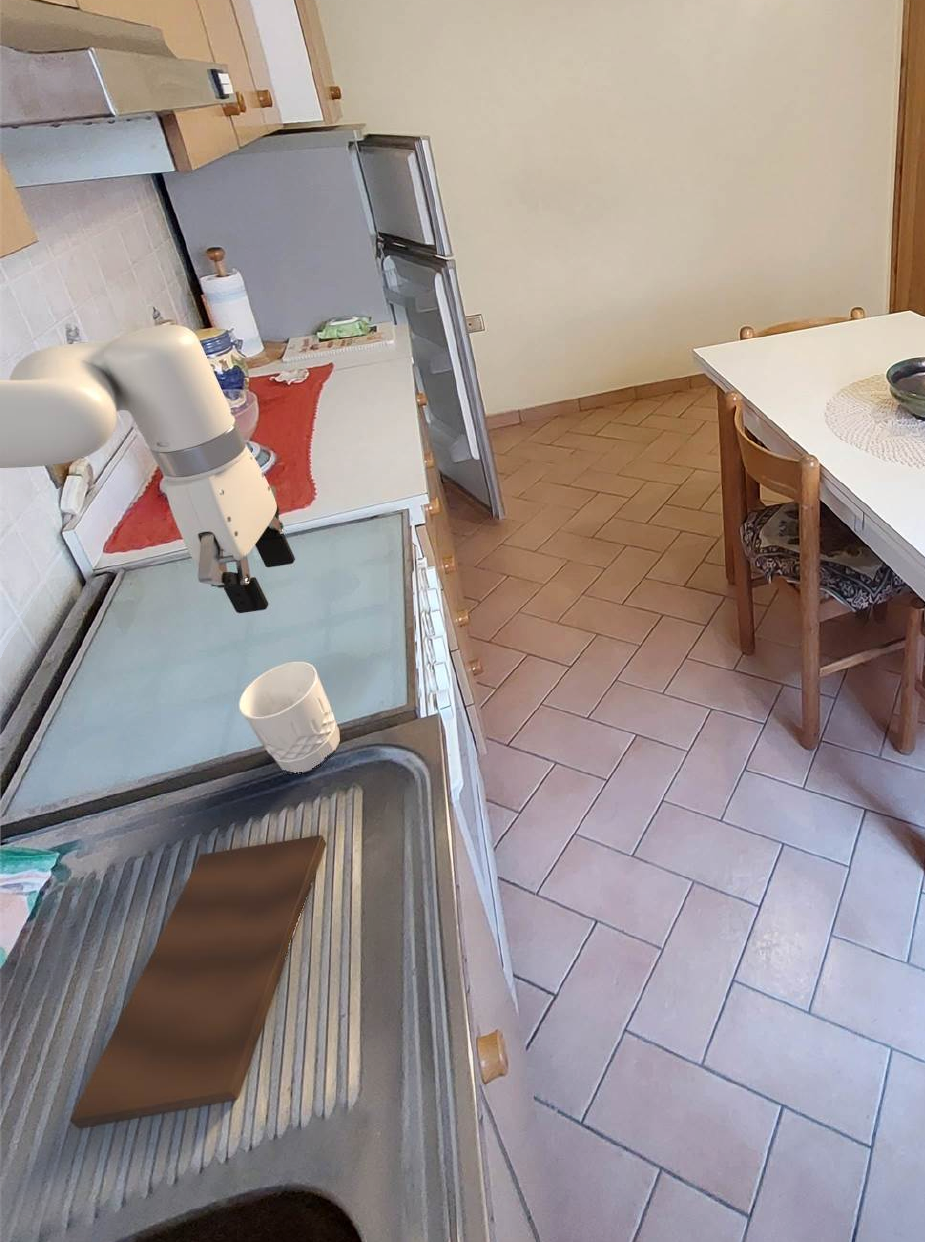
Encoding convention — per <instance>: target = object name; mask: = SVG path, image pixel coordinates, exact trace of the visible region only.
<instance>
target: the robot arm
mask: <svg viewBox="0 0 925 1242" xmlns="http://www.w3.org/2000/svg"><path fill="white" fill-rule="evenodd" d="M221 387H222V386H221V385H220V383H219V381H218V379H217V375H216V374H215V372H214V370H213V367H212V365H211V363H210V361H209V359H208V356H207V354H206V352H205V349H204V347H203V346H202V343H201V342H200V340H199V338H198V336H197V334H195V333H194V331H193V330H191V329H190V328H188V327H186V326H182V325H181V324H180V325H179V324H162V325H154V326H150V327H146V328H145V327H144V328H141V329H138V330H134V331H132V332H129V333H125V334H124V335H122V336H121V335H120V337H115V338H109V339H103V340H95V341H86V342H77V343H76V342H75V343H67V344H61V345H54V346H53V345H52V346H49V347H45V348H41V349H39V350H36V351H34V352H31V353H29V354H27V355H26V356H25V357H23V358H22V359H21V360H20V361H19V362H18V363H16V365H15V366H14V368H13V369H12V371H11V374H10V376H9V379H0V469H13V468H17V469H18V468H34V467H46V466H55V465H62V464H66V463H71V462H76V461H79V460H81V459H84V458H86V457H89V456H91V455H92V454H94V453H96V452H97V451H99V450H100V449H102V448H103V447H104V446H105V445H106V444H107V443H108V441H109V440H110V439H111V437H112V436H113V435H114V432H115V429H116V425H117V420H118V419H117V418H118V412H120V411H127V412H128V413H130V415H131V417H132V418H133V421H134V422H135V425H136V426H137V428H138V430H139V432H140V433H141V435H142V436H141V437H142V438H143V439H144V441H145V443H146V445H147V447H148V448H149V451H150V453H151V455H152V457H153V459H154V460H155V462H156V465H157V466H158V468H159V470H160V471H161V474H162V475H163V478H164V479H166V481H165V482H164V483H163V484H164V490H165V496H166V499H167V502H168V505H169V509H170V511H171V514H172V517H173V519H174V522H175V524H176V527H177V530H178V531H179V534H180V536H181V538H182V541H183V543H184V545H185V547H186V549H187V551H188V553H189V555H190V557H191V559H192V561H193V562H194V563H195V565H196V566H198V571H197V580H198V582H199V583H201V584H205V585H210V586H211V587H215V588H216V587H217V588H218V589H223V590H224V592H225V594H226V596H227V597H228V599H229V601H230V604H231V605H232V607H233V609H234V611H235V612H236V613H237V614H245V613H251V612H258V611H264V610H267V609H268V607H269V601H268V599H267V597H266V595H265V593H264V591H263V589H262V587H261V586H260V583H259V581H258V579H257V577H256V576H254V577H253V576H252V577H251V573H250V567H249V561H248V560H249V559H248V554H250V553H251V551H252V549H253V548H254V547H255V548H256V550H257V552H258V554H259V556H260V558H261V560H262V562H263V564H264V566H265V568H273V567H274V568H275V567H281V566H289V565H292V564H294V562H295V561H296V558H295V555H294V553H293V551H292V548H291V547H290V544H289V542H288V539H287V537H286V535H285V534H284V532H283V531H284V524H283V522H282V521H281V520H280V507H279V505H278V495H277V487H276V486H274V485H270V484H269V481H268V480H267V478H266V476H265V474H264V472H263V470H262V468H261V466H260V465H259V463H258V461H257V460H256V458H255V457H254V455H253V453H252V452H251V450H250V449H249V447H248V445H247V443H246V441H245V438H244V436H243V434H242V432H241V429H240V426H239V425H238V422H237V420H236V418H235V417H234V414H233V411H232V409H231V407H230V405H229V402H228V400H227V398H226V396H225V394H224V392H223V389H222V388H221ZM223 552H226V554H228V555H224V553H223ZM227 563H235V565H236V572H234V571H228V568H227Z"/></svg>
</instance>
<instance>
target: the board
mask: <svg viewBox="0 0 925 1242" xmlns="http://www.w3.org/2000/svg"><path fill="white" fill-rule="evenodd" d="M326 846H327V841H326V840H325V838H324V837H323V834H318V835H317V834H316V835H312V836H305V837H299V838H293V839H287V840H281V841H275V842H268V843H263V844H257V845H250V846H245V847H237V848H232V849H226V850H219V851H213V852H207V853H202V854H200V855H199V856H198V858H197V861H196V862H195V865H194V867H193V869H192V870H191V872H190V875H189V877H188V879H187V881H186V882H185V885H184V887H183V889H182V891H181V893H180V895H179V897H178V898H177V901H176V903H175V905H174V908H173V910H172V911H171V914H170V915H169V918H168V919H167V922H166V924H165V926H164V928H163V930H162V932H161V934H160V936H159V938H158V940H157V942H156V944H155V946H154V947H153V950H152V952H151V954H150V956H149V958H148V960H147V962H146V964H145V966H144V968H143V970H142V973H141V975H140V976H139V978H138V981H137V983H136V985H135V987H134V988H133V991H132V993H131V995H130V997H129V999H128V1001H127V1002H126V1005H125V1006H124V1009H123V1011H122V1012H121V1015H120V1017H119V1019H118V1021H117V1024H116V1025H115V1027H114V1029H113V1031H112V1033H111V1035H110V1037H109V1039H108V1041H107V1043H106V1045H105V1048H104V1050H103V1052H102V1054H101V1056H100V1058H99V1060H98V1062H97V1064H96V1066H95V1067H94V1070H93V1072H92V1074H91V1076H90V1078H89V1080H88V1082H87V1085H86V1086H85V1088H84V1090H83V1092H82V1095H81V1096H80V1098H79V1100H78V1102H77V1104H76V1107H75V1109H74V1110H73V1112H72V1114H71V1116H70V1118H69V1122H70V1123H71V1124H72V1125H74V1126H75V1127H77V1129H85V1128H90V1127H96V1126H100V1125H101V1126H102V1125H107V1124H112V1123H118V1122H123V1121H124V1122H125V1121H129V1120H135V1119H141V1118H146V1117H151V1116H157V1115H162V1114H168V1113H173V1112H180V1111H184V1110H190V1109H195V1108H200V1107H206V1106H211V1105H217V1104H223V1103H228V1102H234V1101H238V1098H239V1096H240V1093H241V1090H242V1087H243V1085H244V1082H245V1078H246V1075H247V1074H248V1071H249V1068H250V1065H251V1061H252V1059H253V1056H254V1053H255V1050H256V1047H257V1044H258V1042H259V1039H260V1035H261V1033H262V1029H263V1027H264V1024H265V1022H266V1018H267V1015H268V1012H269V1010H270V1007H271V1004H272V1001H273V998H274V996H275V993H274V992H276V990H277V987H278V983H279V981H280V978H281V976H282V973H281V972H283V970H282V969H284V967H283V965H284V966H285V964H284V962H285V963H286V961H285V958H286V956H287V957H288V955H287V953H288V954H289V952H288V947H289V943H290V940H291V937H292V935H293V932H294V930H295V927H296V923H297V922H298V918H299V916H300V913H301V911H302V909H303V906H304V903H305V901H306V897H307V896H308V897H309V895H308V893H309V894H310V892H311V889H312V886H311V883H312V882H313V883H314V881H313V879H314V880H315V878H314V875H315V874H316V875H317V871H318V869H319V866H320V863H321V860H322V857H323V854H324V851H325V849H326ZM316 875H315V876H316ZM313 883H312V884H313ZM309 891H310V892H309ZM306 902H307V901H306ZM304 907H305V906H304ZM303 910H304V909H303ZM286 959H287V958H286ZM273 995H274V996H273ZM271 1000H272V1001H271Z"/></svg>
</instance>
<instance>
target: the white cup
mask: <svg viewBox="0 0 925 1242" xmlns="http://www.w3.org/2000/svg"><path fill="white" fill-rule="evenodd" d="M238 710H239V712H240V714H241V715H242V717H243V718H244V720H245V721H246V723H247V725H248V726H249V727H250V728H251V730H252V732H253V733H254V735H255V736H256V737H257V739H258V741H259V743H261V746H262V747H263V748H264V749H265V750H266V752H267V754H268V755H269V756H271V757H272V758H273V760H274V761H275V763H276V764H277V766H278V767H279V768H280V770H281V771H283V770H286V771H291V772H294V773H296V772H298V774H300V773H299V772H302V773H307V772H310V771H312V770H313V769H312V768H314V767H315V766H316V765H318V764H320V762H322V761H323V760H324V758H325V757H327V755H329V754H330V753H332V752H333V751H334V750H335V751H336V749H337V748H338V746H339V744H340V742H341V734H340V733H341V732H340V729H339V727H338V724H337V721H336V719H335V715H334V712H333V709H332V708H331V704H330V701H329V698H328V696H327V694H326V691H325V688H324V687H323V684H322V682H321V679H320V677H319V674H318V672H317V669H316V668H315V667H314V666H313V665H312V664H310V663H308V662H305V661H291V662H287V663H286V662H285V663H283V664H279V665H277V666H274V667H272V668H270V669H268V670H267V671H265V672H263V673H261V674H260V675H259V676H257V677H255V679H253V681H251V682H250V683H249V685H248V686H246V688H245V689H244V690H243V692H242V694H241V695H240V698H239V701H238ZM315 768H316V767H315ZM315 768H314V769H315Z"/></svg>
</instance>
